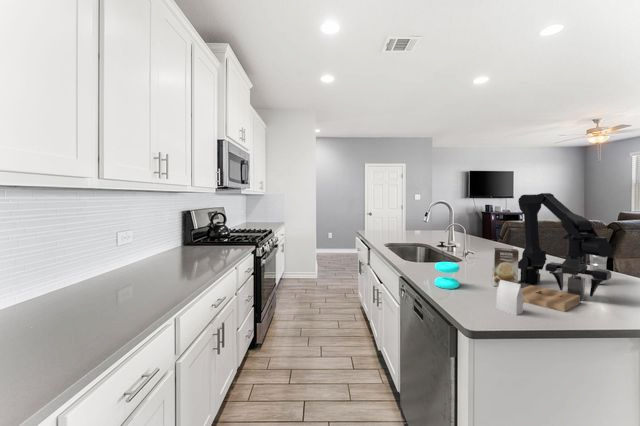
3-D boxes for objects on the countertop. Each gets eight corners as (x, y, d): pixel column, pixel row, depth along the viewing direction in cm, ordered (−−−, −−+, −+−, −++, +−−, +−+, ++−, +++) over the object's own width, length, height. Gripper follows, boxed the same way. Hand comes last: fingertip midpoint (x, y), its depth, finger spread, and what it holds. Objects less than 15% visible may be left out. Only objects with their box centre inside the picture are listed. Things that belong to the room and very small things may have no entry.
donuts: (441, 260, 144) (463, 263, 137) (441, 282, 145) (463, 286, 137) (430, 263, 138) (452, 267, 130) (430, 286, 138) (452, 291, 131)
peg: (567, 298, 121) (568, 275, 120) (571, 296, 123) (572, 274, 122) (581, 301, 117) (581, 278, 117) (585, 299, 119) (585, 276, 119)
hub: (513, 299, 120) (513, 290, 120) (530, 292, 127) (530, 284, 127) (564, 311, 106) (564, 302, 106) (579, 303, 114) (579, 294, 114)
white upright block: (516, 315, 104) (517, 285, 103) (496, 308, 110) (497, 280, 109) (522, 313, 106) (523, 283, 105) (502, 307, 112) (503, 279, 111)
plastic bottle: (611, 286, 136) (613, 239, 135) (593, 285, 137) (595, 239, 136) (601, 282, 142) (603, 237, 141) (584, 281, 143) (585, 237, 142)
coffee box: (493, 286, 137) (493, 249, 136) (492, 282, 143) (492, 247, 142) (517, 289, 133) (518, 251, 132) (515, 285, 139) (516, 248, 138)
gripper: (539, 251, 122) (538, 290, 123) (602, 258, 107) (600, 304, 108) (551, 248, 129) (550, 286, 129) (612, 255, 113) (610, 298, 114)
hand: (575, 293), depth 120 cm, fingers open, 9 cm apart
